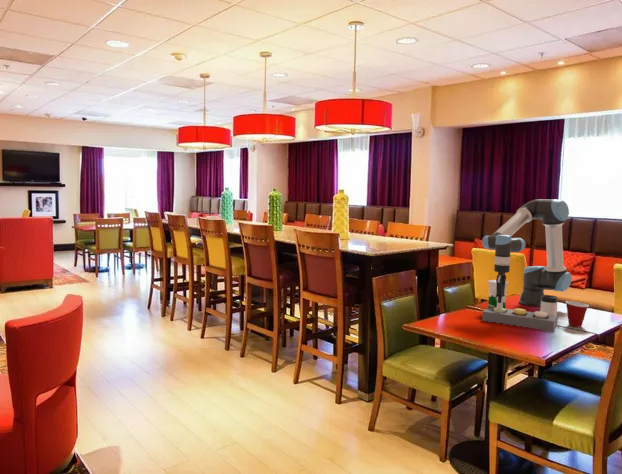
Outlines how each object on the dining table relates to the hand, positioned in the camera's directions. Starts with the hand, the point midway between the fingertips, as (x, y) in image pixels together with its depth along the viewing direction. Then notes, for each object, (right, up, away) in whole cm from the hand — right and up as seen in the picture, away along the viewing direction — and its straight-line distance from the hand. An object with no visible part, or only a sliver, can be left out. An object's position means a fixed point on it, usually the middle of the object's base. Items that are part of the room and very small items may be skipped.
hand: (499, 308), depth 263 cm
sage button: (0, -2, 0) cm, 2 cm away
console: (+8, -7, -5) cm, 12 cm away
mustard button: (+8, -2, -5) cm, 10 cm away
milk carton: (+4, -5, +17) cm, 18 cm away
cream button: (+17, -3, -11) cm, 20 cm away
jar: (+28, -6, +6) cm, 30 cm away
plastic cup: (+36, -8, -8) cm, 38 cm away
